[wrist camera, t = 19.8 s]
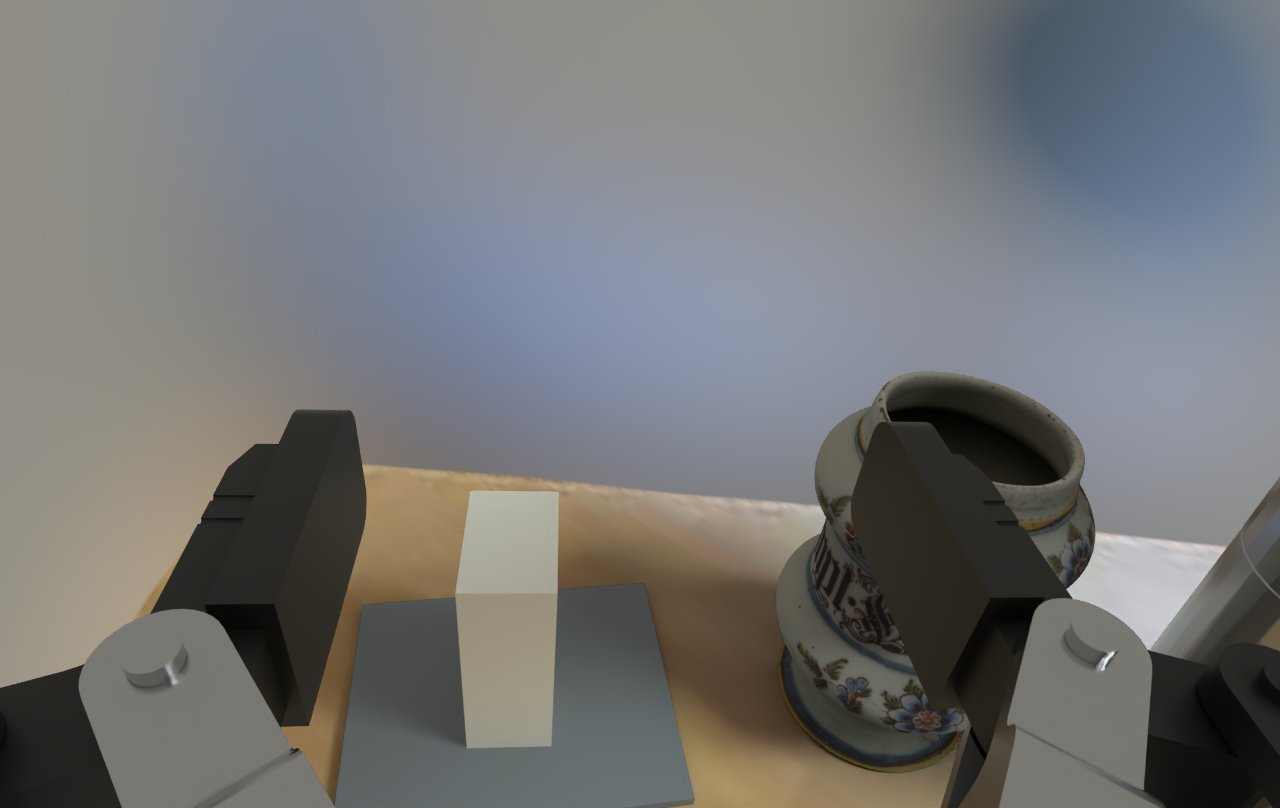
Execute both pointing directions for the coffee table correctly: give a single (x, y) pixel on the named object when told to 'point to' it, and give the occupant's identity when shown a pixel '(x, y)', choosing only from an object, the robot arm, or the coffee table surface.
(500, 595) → the tall cream pillar block
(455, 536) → the coffee table surface
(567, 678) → the mat
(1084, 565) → the apothecary jar
